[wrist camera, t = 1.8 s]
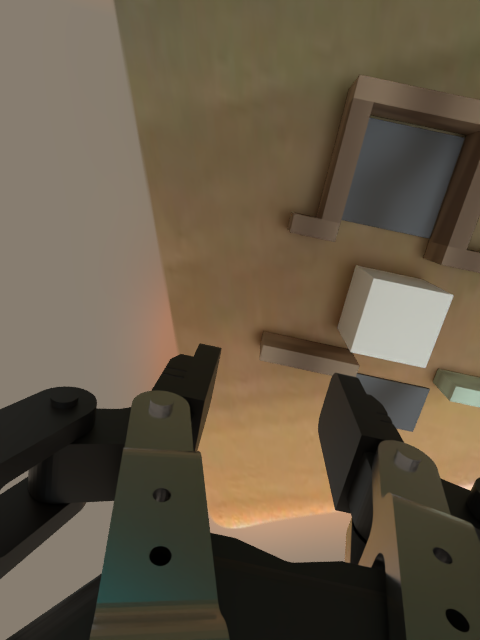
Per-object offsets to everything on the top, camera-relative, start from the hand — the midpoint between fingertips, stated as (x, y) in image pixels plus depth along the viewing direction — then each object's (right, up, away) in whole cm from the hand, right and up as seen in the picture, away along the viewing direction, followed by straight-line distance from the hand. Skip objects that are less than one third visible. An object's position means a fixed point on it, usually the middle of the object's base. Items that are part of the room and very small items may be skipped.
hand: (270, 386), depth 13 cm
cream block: (+10, +3, +16) cm, 19 cm away
